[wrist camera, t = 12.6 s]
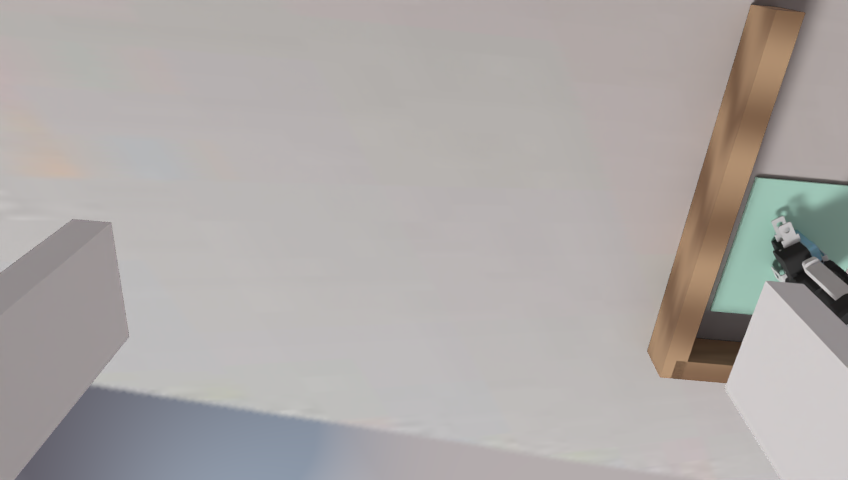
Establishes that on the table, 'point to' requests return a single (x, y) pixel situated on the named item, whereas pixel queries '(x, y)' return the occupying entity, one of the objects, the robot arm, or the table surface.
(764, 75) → the wooden l-shaped wall
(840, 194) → the pad
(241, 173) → the table surface
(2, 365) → the robot arm
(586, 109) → the table surface
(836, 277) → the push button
